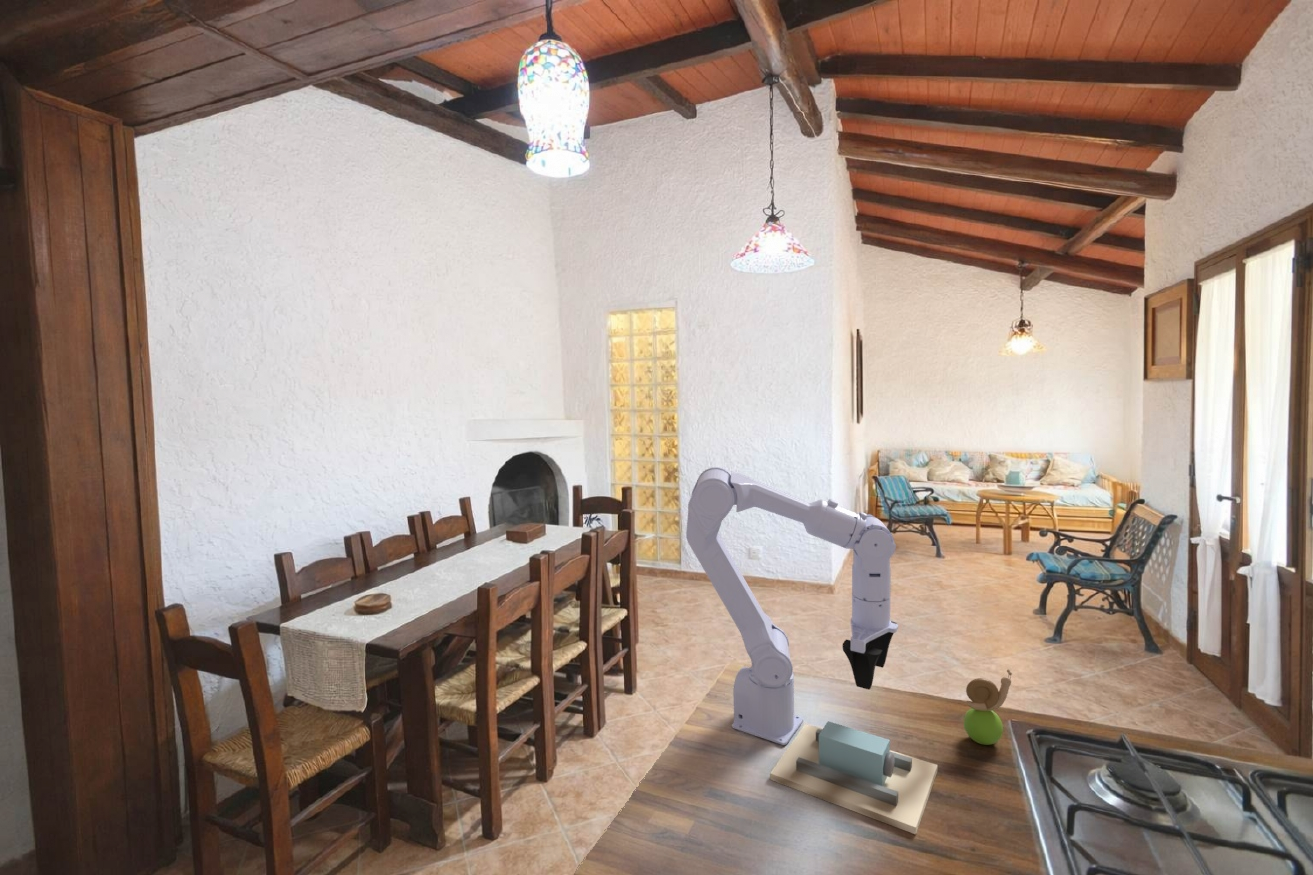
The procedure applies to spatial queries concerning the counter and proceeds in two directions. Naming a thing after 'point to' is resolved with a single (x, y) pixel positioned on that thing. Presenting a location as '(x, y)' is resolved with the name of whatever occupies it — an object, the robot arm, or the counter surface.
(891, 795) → the jig board
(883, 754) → the pale blue tall carton
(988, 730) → the snail figurine
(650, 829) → the counter surface
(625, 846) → the counter surface
